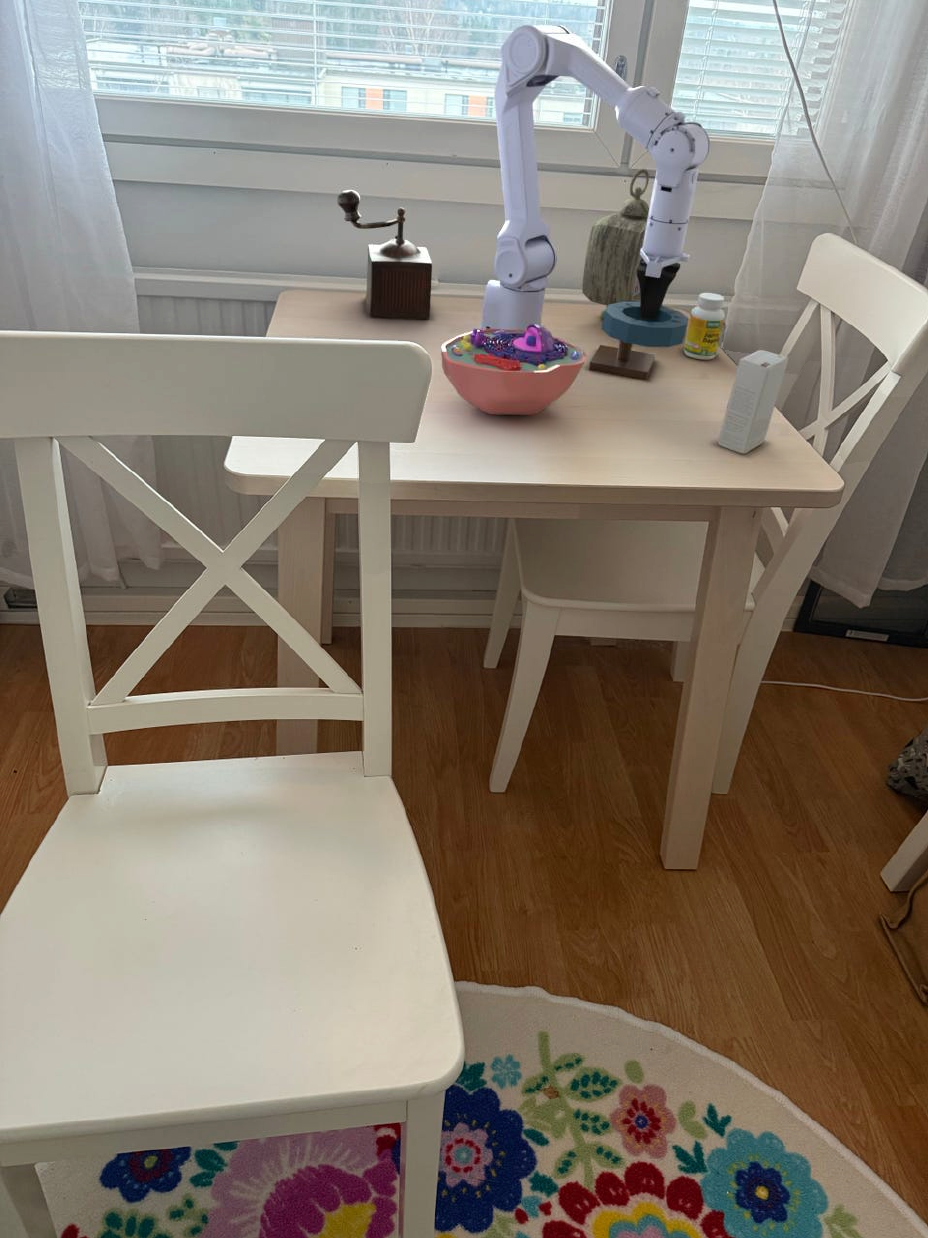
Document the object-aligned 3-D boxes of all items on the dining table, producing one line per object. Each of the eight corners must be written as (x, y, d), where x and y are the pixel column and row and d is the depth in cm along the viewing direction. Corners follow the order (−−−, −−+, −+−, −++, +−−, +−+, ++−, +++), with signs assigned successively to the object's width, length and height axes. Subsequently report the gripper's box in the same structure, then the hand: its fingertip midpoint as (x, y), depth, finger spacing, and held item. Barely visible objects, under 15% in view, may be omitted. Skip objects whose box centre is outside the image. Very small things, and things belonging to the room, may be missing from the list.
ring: (596, 337, 138) (599, 317, 136) (610, 315, 147) (613, 296, 146) (678, 352, 135) (683, 332, 134) (688, 329, 145) (692, 310, 143)
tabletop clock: (620, 337, 164) (648, 178, 150) (573, 325, 168) (595, 168, 154) (653, 318, 175) (681, 168, 161) (607, 307, 179) (631, 159, 165)
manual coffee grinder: (423, 300, 173) (430, 192, 163) (430, 320, 164) (437, 206, 154) (336, 296, 170) (336, 186, 160) (338, 316, 161) (339, 201, 151)
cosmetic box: (736, 433, 134) (758, 347, 127) (766, 443, 131) (790, 356, 125) (715, 445, 130) (737, 356, 123) (745, 456, 127) (769, 367, 121)
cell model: (418, 389, 137) (422, 309, 131) (544, 381, 144) (554, 304, 138) (462, 438, 125) (470, 352, 118) (598, 426, 132) (613, 344, 125)
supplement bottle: (699, 347, 163) (712, 289, 158) (722, 357, 160) (736, 299, 155) (676, 351, 161) (688, 292, 155) (699, 362, 157) (712, 302, 152)
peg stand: (588, 369, 150) (595, 329, 147) (599, 351, 157) (605, 313, 154) (646, 379, 148) (654, 339, 145) (654, 361, 156) (661, 323, 152)
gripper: (690, 233, 130) (670, 333, 138) (701, 213, 142) (681, 307, 149) (638, 225, 131) (621, 325, 139) (653, 206, 143) (636, 299, 151)
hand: (649, 315), depth 144 cm, fingers closed on ring, 2 cm apart
